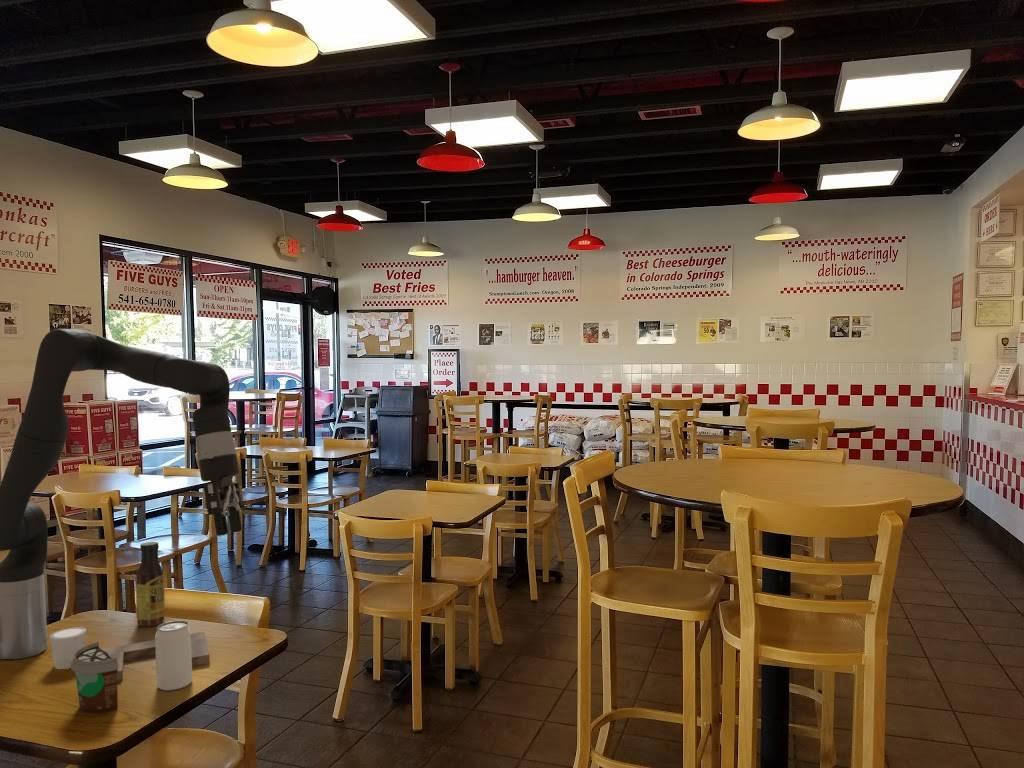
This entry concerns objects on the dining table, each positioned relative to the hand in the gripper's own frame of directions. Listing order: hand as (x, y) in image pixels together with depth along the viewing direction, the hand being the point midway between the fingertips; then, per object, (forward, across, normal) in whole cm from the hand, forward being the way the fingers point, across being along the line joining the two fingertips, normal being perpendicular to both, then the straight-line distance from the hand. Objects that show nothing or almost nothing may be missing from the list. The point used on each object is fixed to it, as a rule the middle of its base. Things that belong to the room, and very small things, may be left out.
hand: (230, 533), depth 153 cm
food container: (+26, +8, -28) cm, 39 cm away
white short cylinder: (+20, -12, -42) cm, 48 cm away
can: (+27, 0, -16) cm, 31 cm away
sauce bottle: (+18, -35, -34) cm, 53 cm away
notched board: (+23, -12, -25) cm, 36 cm away
